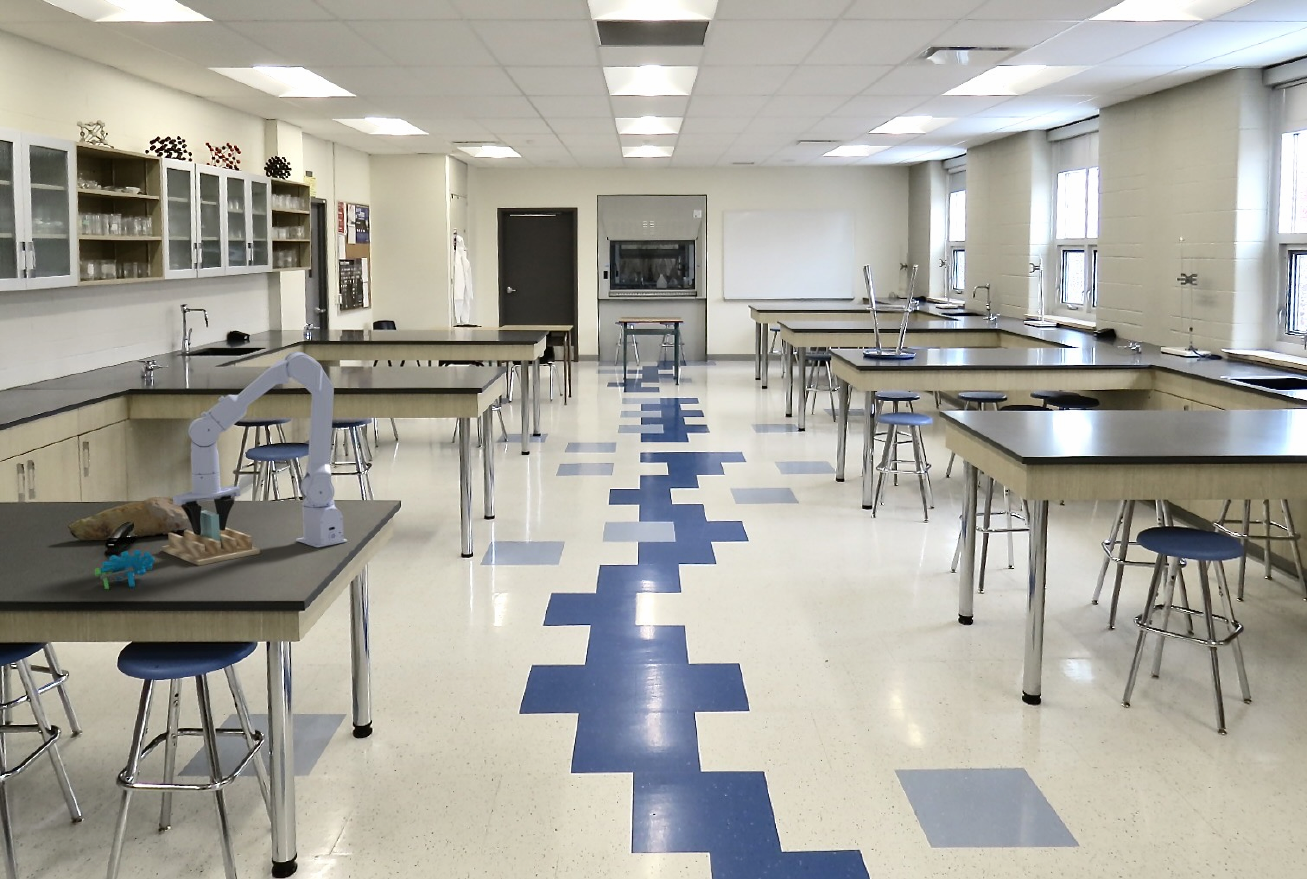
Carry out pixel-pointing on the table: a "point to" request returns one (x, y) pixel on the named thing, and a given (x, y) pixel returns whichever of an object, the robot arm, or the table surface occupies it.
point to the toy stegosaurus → (125, 567)
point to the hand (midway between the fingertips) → (209, 532)
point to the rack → (210, 546)
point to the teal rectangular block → (210, 525)
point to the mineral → (133, 519)
